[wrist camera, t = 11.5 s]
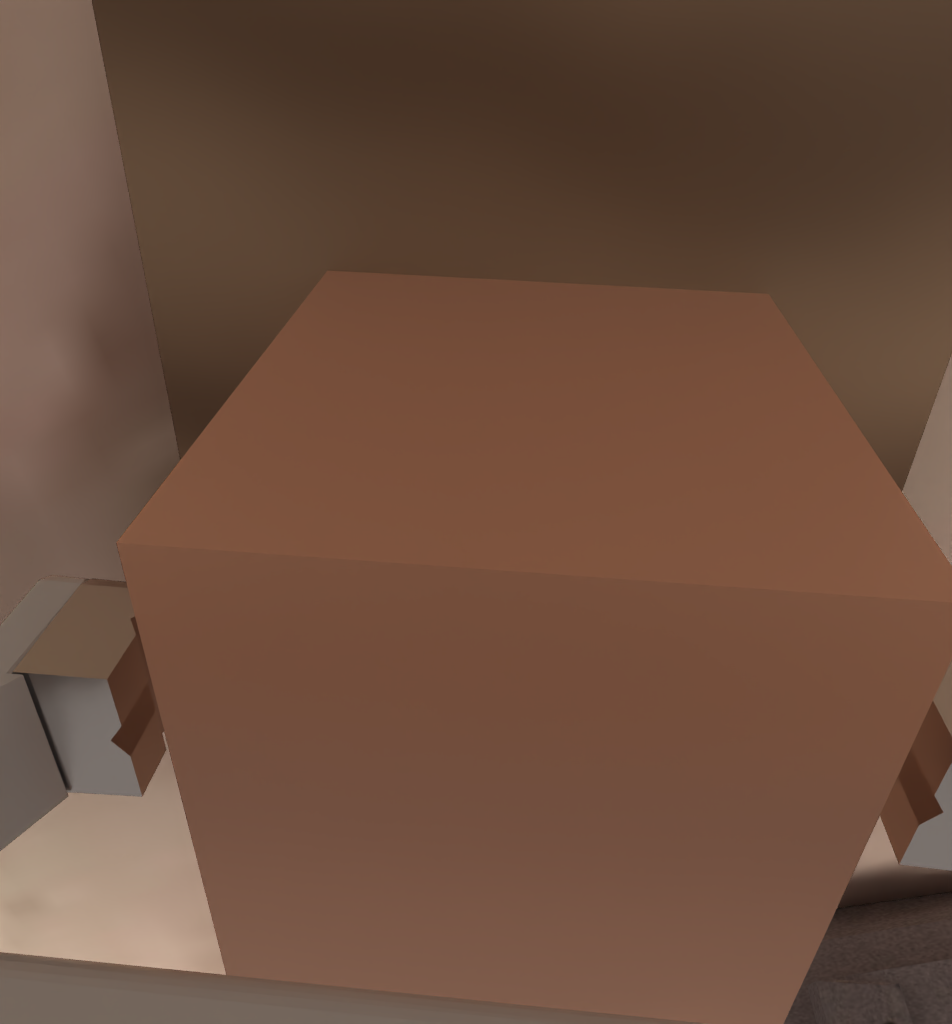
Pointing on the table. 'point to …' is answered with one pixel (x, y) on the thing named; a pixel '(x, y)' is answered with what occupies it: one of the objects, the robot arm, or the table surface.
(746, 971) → the salmon orange block
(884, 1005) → the small grey backpack
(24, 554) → the table surface
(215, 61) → the stub plate
